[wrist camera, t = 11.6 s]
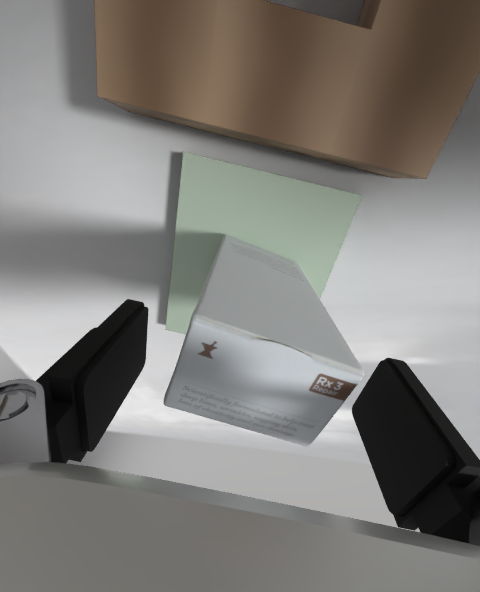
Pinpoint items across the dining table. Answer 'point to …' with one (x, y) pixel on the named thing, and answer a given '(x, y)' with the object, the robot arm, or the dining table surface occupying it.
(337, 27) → the pocket block
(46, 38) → the dining table surface
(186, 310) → the mat
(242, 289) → the skincare box
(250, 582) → the robot arm
